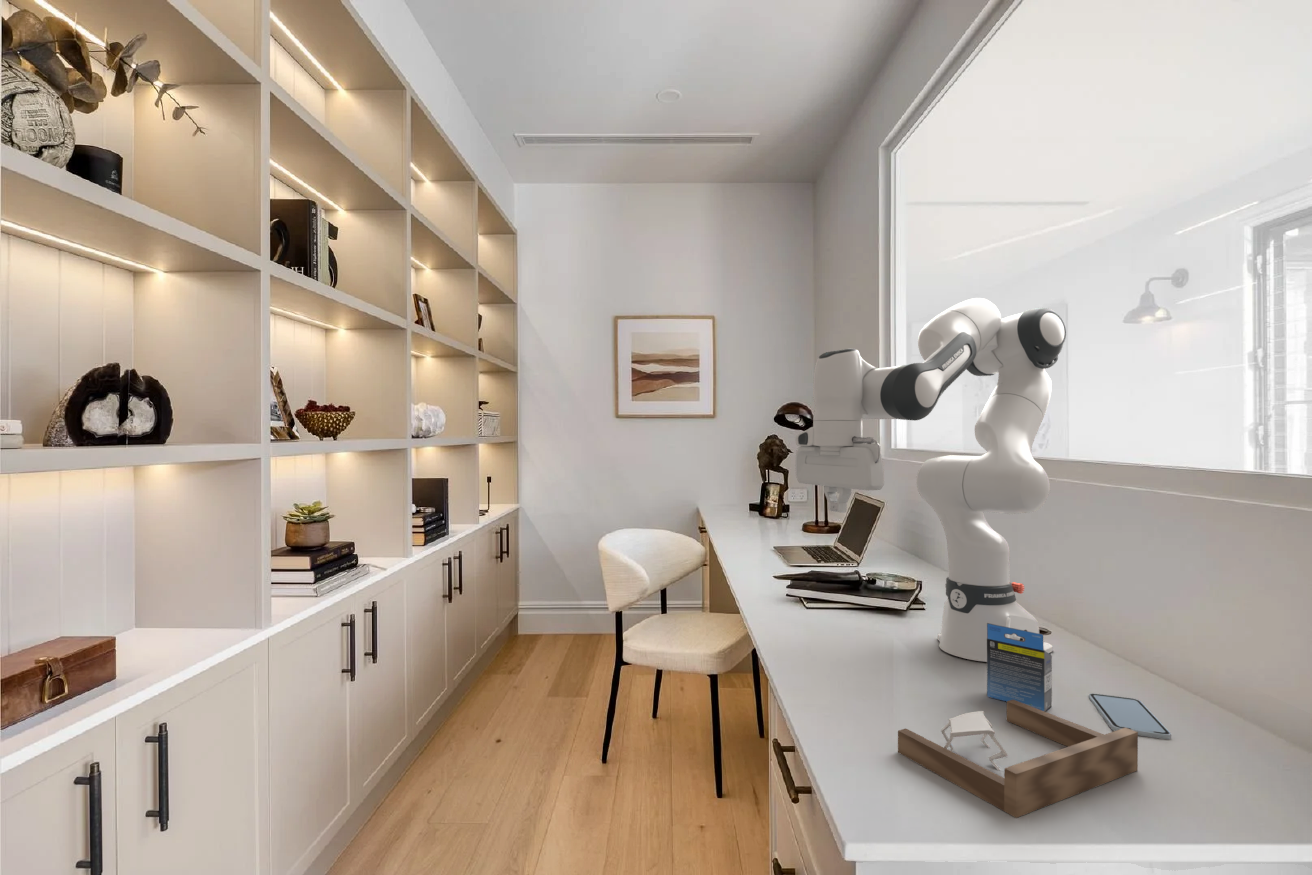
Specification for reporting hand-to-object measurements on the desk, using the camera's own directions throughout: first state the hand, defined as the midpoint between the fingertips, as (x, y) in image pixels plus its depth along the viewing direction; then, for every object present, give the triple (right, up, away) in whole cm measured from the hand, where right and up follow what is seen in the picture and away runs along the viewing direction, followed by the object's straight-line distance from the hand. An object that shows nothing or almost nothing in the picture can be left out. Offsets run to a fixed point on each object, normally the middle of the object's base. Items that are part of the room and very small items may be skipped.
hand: (837, 511), depth 125 cm
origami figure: (+10, -30, -33) cm, 46 cm away
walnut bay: (+14, -29, -34) cm, 47 cm away
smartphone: (+39, -30, -20) cm, 53 cm away
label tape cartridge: (+26, -30, -15) cm, 42 cm away
